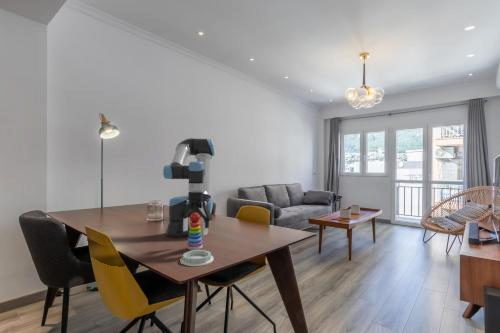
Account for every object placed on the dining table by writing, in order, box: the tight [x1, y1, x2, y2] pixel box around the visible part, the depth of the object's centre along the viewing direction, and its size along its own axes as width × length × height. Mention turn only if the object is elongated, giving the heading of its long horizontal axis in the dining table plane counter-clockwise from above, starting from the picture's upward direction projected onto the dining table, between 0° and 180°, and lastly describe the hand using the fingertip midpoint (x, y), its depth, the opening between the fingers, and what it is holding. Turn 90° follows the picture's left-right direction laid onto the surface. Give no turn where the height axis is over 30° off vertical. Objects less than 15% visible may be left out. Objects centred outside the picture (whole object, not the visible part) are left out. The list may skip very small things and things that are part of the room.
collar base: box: [179, 249, 215, 267], centre depth 121 cm, size 15×15×3 cm
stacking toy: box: [186, 213, 204, 251], centre depth 137 cm, size 8×8×19 cm
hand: (195, 232), depth 137 cm, fingers open, 13 cm apart
